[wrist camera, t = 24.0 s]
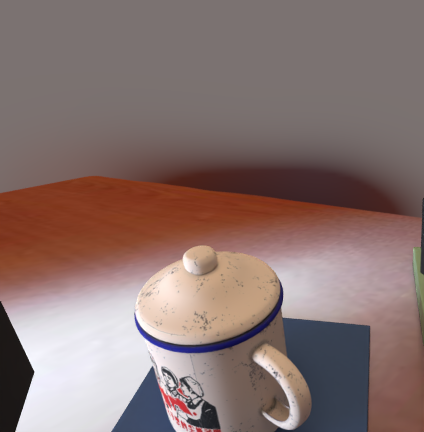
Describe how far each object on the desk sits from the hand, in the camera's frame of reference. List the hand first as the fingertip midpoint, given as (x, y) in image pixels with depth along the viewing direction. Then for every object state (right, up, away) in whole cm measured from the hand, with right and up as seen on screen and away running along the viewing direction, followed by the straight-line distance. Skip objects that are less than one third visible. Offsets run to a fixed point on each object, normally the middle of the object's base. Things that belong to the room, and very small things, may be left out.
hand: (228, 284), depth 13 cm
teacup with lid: (+2, -11, +14) cm, 18 cm away
